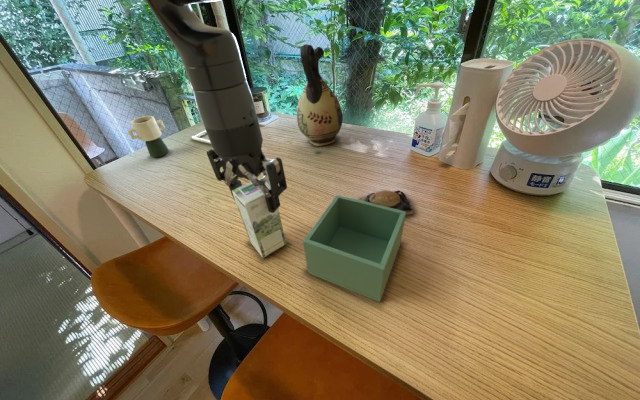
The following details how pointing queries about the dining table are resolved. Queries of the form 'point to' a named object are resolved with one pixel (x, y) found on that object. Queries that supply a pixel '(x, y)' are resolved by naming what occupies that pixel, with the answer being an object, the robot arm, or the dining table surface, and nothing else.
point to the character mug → (149, 134)
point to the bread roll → (390, 200)
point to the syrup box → (259, 219)
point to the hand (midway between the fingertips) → (256, 204)
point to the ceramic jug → (317, 102)
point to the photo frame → (200, 138)
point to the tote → (355, 245)
